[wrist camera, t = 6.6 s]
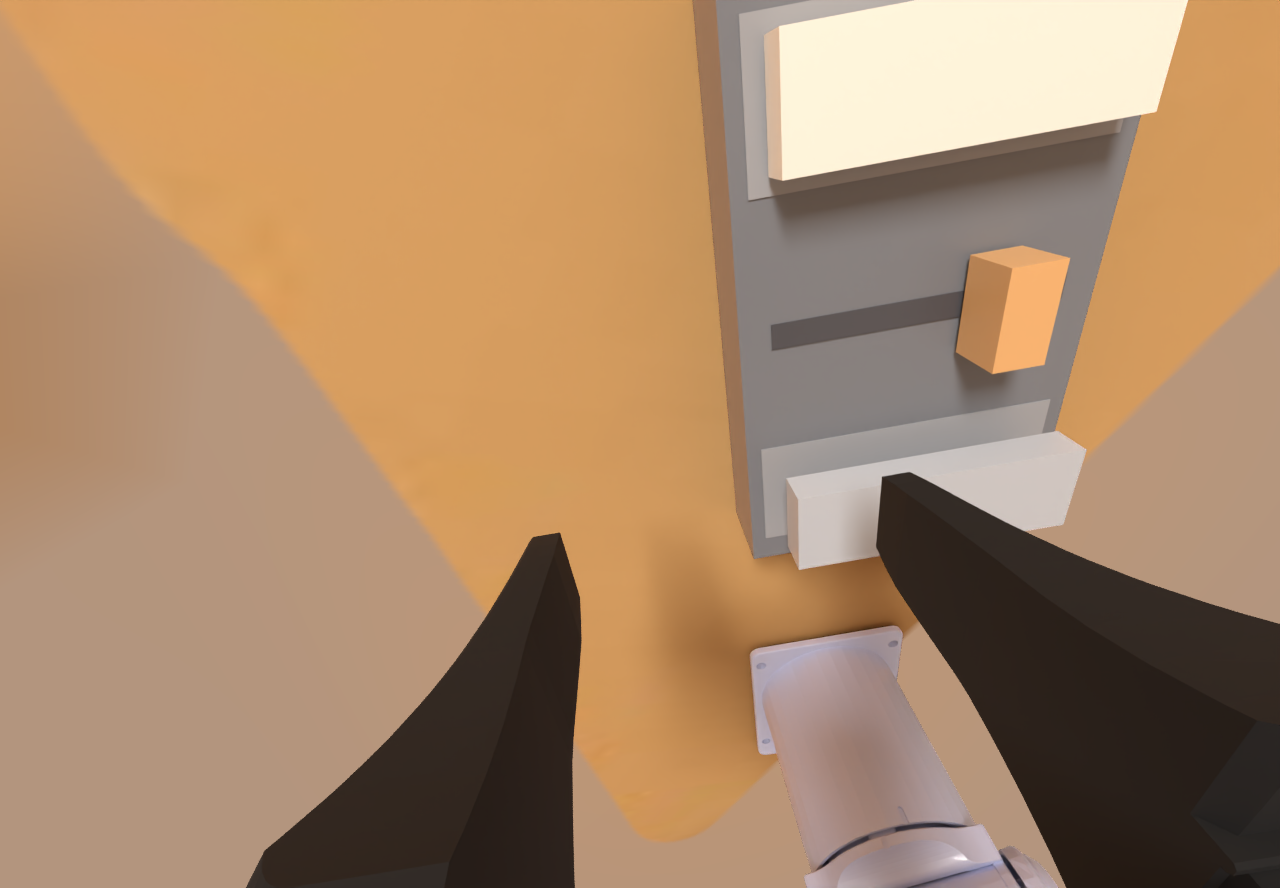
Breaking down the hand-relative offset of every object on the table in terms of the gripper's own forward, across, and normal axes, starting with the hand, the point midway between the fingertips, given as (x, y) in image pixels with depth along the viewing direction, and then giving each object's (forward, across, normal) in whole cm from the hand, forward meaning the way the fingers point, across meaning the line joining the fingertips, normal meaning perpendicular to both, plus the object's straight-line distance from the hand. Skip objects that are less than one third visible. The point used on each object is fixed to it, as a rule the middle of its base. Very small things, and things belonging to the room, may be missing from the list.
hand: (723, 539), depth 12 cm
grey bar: (+5, -8, +4) cm, 10 cm away
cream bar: (+6, -7, -8) cm, 13 cm away
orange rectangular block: (+6, -10, -2) cm, 12 cm away
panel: (+9, -8, -2) cm, 12 cm away
